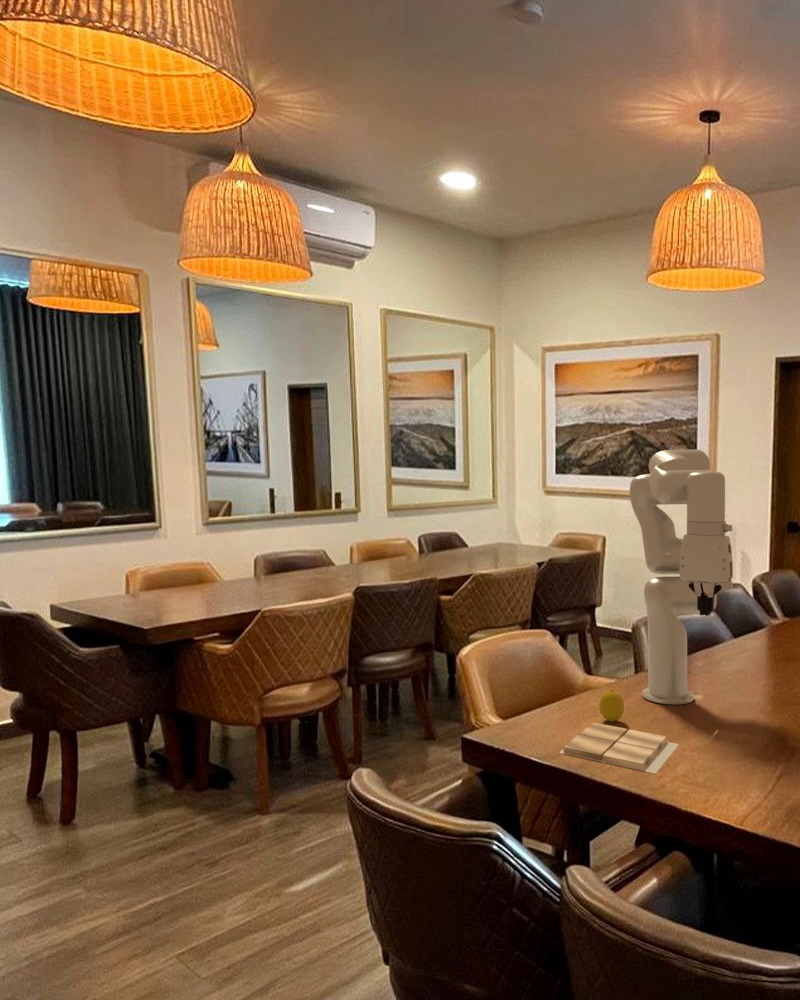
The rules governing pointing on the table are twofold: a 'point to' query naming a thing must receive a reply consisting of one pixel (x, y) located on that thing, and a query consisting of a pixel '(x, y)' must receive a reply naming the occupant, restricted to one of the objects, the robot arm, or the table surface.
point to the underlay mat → (654, 762)
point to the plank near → (629, 755)
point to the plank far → (643, 740)
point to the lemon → (611, 705)
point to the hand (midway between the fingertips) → (705, 614)
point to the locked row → (594, 741)
